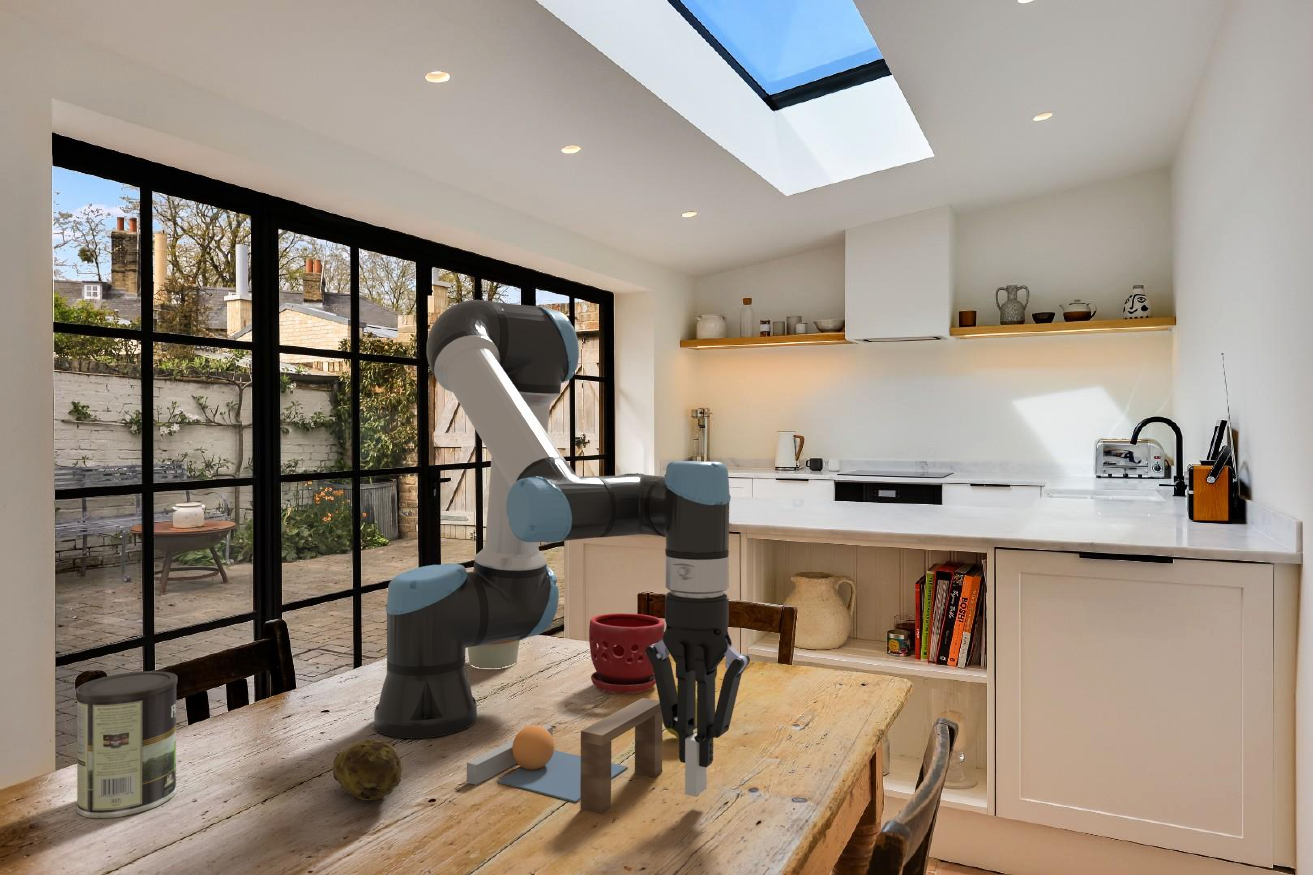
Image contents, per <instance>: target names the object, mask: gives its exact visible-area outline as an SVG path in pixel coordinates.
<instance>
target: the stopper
mask: <svg viewBox="0 0 1313 875" xmlns="http://www.w3.org/2000/svg"><path fill="white" fill-rule="evenodd" d="M540 726H541V727H543V728H545V729H546V730H548V731H549V733H550V734H551V735H552V737H553V734H554V733H553V731H554V730H553V728H554V727H553V726H550V725H546V724H545V725H544V724H543V725H540ZM553 738H554V737H553ZM513 741H514V739H512V740H510V741H507V742H506V743H504V744H502V745H500V746H498V747H496V748H494V749H491V750H489V751H488V752H485V753H483V754H481V755H479V756H477V757H475V758H473V759H471V760H469V761H467V762H466V783H467V784H470V785H471V784H472V785H475V786H478V785H479V784H481V783H483V782H485V781H487V780H488V779H490V778H492V777H494V776H496V775H498V774H500V773H502V772H503V771H505V770H507V769H509V768H511V767H514V766H515V765H517V764H518V763H517V762H516V760H515V759H514V756H513V752H512V745H513Z"/></svg>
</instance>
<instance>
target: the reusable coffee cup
mask: <svg viewBox="0 0 1313 875" xmlns="http://www.w3.org/2000/svg"><path fill="white" fill-rule="evenodd" d="M520 641H521V640H512V641H505V642H498V643H491V644H485V645H479V646H473V647H467V654H468V655H467V656H468V661H469V662H468V663H469V665H470V664H471V665H473V666H475V667H479V668H502V667H505V666H509V665H512V664H514V663H516V662H517V663H518V656H519V650H520V649H519V648H520V647H519V646H520ZM517 663H516V664H517Z"/></svg>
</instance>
